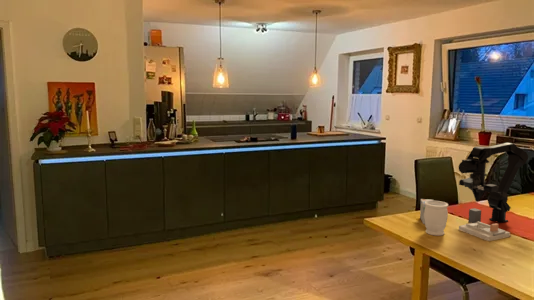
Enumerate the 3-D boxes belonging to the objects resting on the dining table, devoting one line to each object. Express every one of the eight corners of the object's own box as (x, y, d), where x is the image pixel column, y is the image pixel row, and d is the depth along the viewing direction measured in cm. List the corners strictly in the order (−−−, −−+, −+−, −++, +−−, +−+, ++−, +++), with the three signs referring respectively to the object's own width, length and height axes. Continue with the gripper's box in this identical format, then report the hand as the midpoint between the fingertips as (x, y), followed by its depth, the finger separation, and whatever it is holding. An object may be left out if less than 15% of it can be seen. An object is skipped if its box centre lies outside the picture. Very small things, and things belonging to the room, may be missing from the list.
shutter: (492, 228, 198) (493, 221, 198) (505, 233, 192) (505, 225, 192) (482, 230, 196) (483, 223, 195) (495, 235, 190) (495, 227, 189)
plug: (473, 221, 217) (474, 208, 216) (480, 223, 214) (481, 210, 213) (468, 222, 216) (469, 209, 215) (474, 224, 212) (475, 211, 211)
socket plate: (479, 225, 210) (479, 219, 209) (509, 236, 194) (510, 230, 194) (458, 229, 205) (459, 223, 204) (488, 241, 189) (489, 234, 189)
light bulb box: (436, 224, 212) (437, 204, 211) (422, 224, 214) (423, 204, 212) (432, 218, 223) (433, 199, 221) (419, 217, 224) (420, 198, 222)
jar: (445, 230, 204) (447, 201, 201) (447, 237, 194) (449, 207, 192) (422, 228, 207) (424, 199, 205) (423, 235, 197) (424, 205, 195)
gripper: (452, 170, 214) (450, 199, 217) (484, 177, 197) (482, 208, 200) (467, 168, 219) (465, 196, 221) (500, 174, 202) (498, 205, 204)
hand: (477, 201), depth 211 cm, fingers closed
